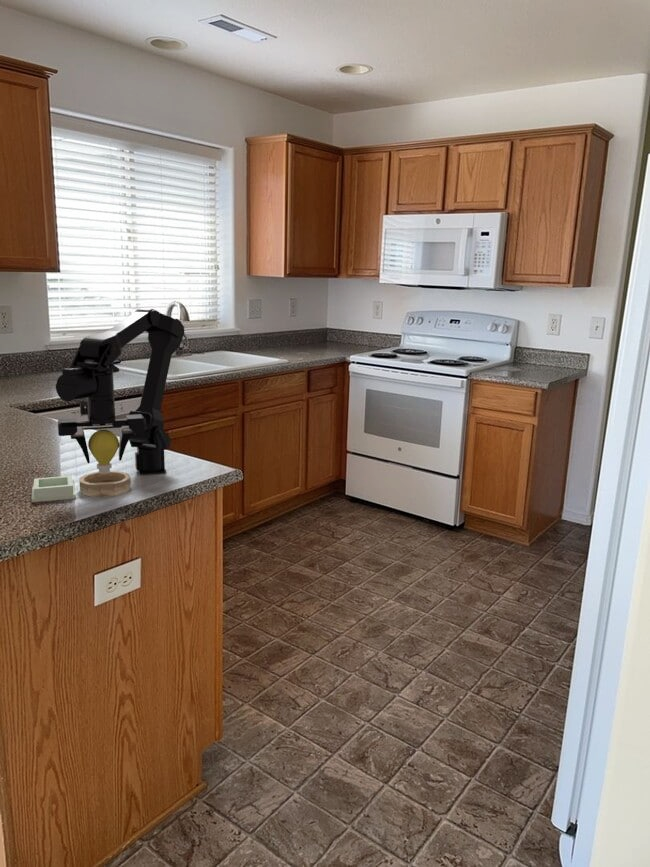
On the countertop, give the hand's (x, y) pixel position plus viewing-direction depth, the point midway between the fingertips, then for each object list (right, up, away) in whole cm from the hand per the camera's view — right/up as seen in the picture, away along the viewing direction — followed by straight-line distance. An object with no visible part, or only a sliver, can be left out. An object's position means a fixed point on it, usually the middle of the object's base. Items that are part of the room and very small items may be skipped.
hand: (104, 461), depth 153 cm
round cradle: (0, -6, +1) cm, 7 cm away
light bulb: (0, -3, +1) cm, 3 cm away
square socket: (-10, -7, -3) cm, 13 cm away
